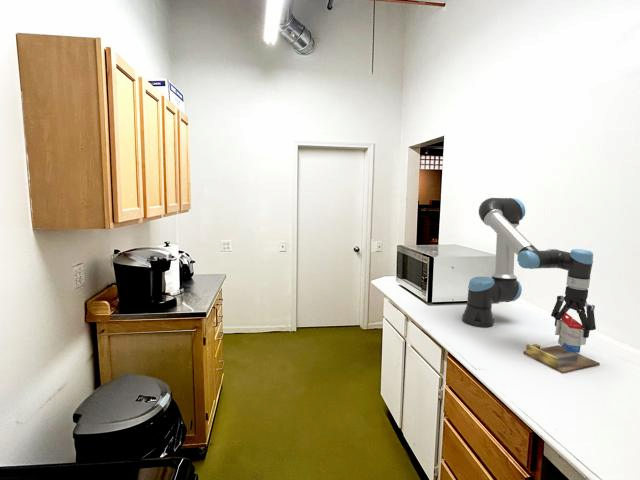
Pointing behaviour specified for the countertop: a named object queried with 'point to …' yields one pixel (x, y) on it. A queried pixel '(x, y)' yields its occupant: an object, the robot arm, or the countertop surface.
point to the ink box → (570, 334)
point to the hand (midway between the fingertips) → (569, 339)
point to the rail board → (569, 367)
